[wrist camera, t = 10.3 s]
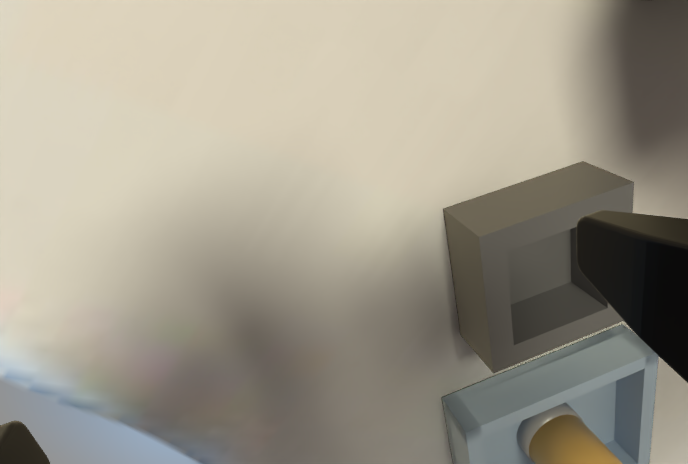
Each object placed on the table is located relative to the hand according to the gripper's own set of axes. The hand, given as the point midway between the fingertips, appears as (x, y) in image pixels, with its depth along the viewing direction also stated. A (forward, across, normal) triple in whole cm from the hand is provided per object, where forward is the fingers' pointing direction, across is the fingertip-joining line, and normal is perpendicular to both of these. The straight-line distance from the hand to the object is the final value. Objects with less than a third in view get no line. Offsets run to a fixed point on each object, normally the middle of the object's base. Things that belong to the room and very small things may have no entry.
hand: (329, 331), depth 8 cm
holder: (+12, -11, +9) cm, 19 cm away
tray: (+12, -12, +20) cm, 27 cm away
